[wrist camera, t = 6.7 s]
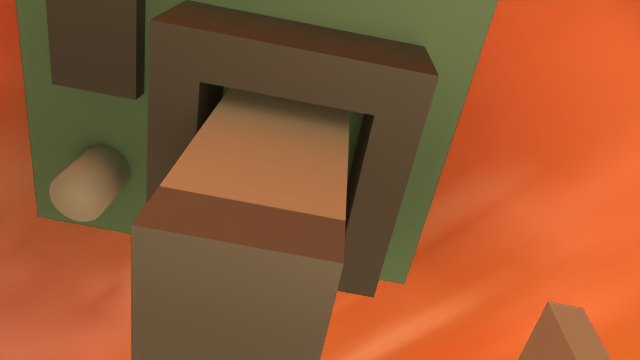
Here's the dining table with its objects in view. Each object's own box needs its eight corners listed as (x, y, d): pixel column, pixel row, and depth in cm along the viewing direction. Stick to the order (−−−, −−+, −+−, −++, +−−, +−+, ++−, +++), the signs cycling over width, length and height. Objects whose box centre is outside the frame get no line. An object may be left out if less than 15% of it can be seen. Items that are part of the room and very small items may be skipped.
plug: (230, 170, 20) (131, 373, 11) (241, 72, 18) (131, 224, 9) (330, 188, 20) (308, 404, 11) (350, 93, 18) (343, 264, 10)
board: (52, 202, 23) (-15, 267, 19) (27, -98, 17) (-78, -100, 13) (402, 267, 23) (411, 344, 19) (489, -6, 18) (530, 20, 13)
